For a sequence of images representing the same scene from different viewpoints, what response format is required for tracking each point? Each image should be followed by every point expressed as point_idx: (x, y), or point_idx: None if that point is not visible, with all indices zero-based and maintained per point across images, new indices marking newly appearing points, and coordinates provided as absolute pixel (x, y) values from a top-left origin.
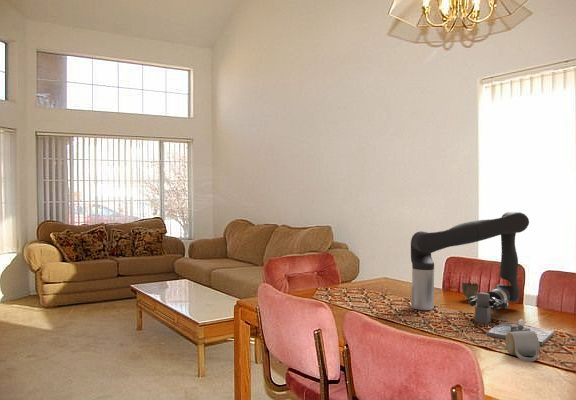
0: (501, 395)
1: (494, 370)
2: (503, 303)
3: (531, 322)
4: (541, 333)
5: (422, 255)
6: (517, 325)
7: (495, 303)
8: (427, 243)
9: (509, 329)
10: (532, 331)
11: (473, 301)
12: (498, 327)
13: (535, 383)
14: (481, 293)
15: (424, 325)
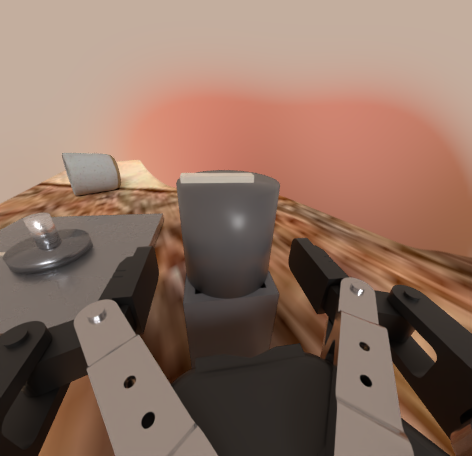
0: (131, 160)
1: (137, 170)
2: (37, 327)
3: None
4: None
5: None
6: (28, 318)
7: (135, 260)
8: None
9: (95, 250)
10: (66, 153)
11: (300, 249)
12: (134, 249)
13: None
14: (240, 177)
15: (300, 212)
